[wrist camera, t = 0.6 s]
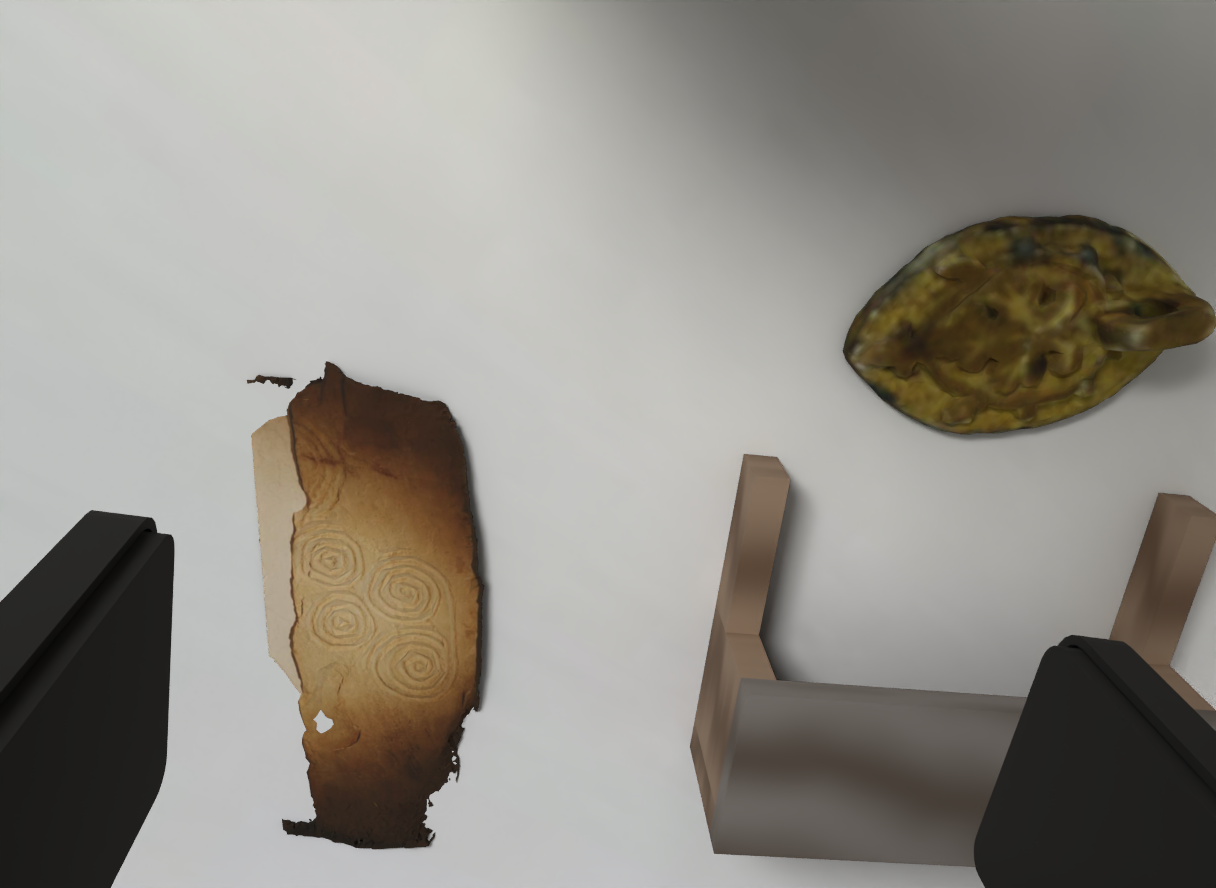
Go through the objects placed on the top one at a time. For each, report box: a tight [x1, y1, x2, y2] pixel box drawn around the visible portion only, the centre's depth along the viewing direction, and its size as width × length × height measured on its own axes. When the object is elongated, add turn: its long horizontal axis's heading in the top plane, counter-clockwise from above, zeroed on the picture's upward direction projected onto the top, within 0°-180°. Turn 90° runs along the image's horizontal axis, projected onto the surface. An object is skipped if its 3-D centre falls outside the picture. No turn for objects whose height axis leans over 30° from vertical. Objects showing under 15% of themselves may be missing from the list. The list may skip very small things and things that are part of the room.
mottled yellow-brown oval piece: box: [843, 215, 1216, 434], centre depth 42 cm, size 9×5×15 cm
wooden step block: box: [690, 454, 1216, 867], centre depth 46 cm, size 16×21×7 cm
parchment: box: [247, 362, 484, 849], centre depth 47 cm, size 25×10×1 cm, turn 177°
